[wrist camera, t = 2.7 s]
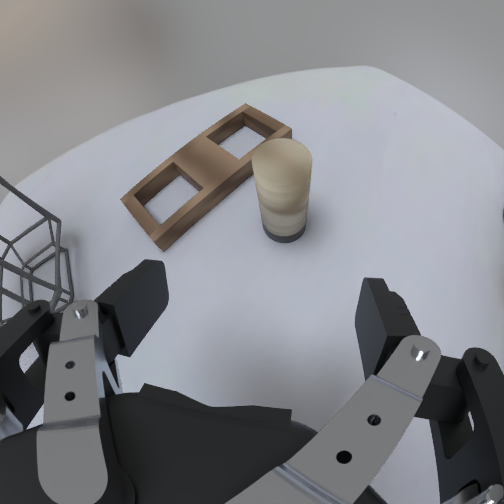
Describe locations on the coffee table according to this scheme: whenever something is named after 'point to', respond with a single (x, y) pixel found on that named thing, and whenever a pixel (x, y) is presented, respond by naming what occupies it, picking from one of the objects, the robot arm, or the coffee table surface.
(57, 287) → the geometric lantern
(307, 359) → the coffee table surface
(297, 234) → the banded peg
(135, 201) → the socket block
